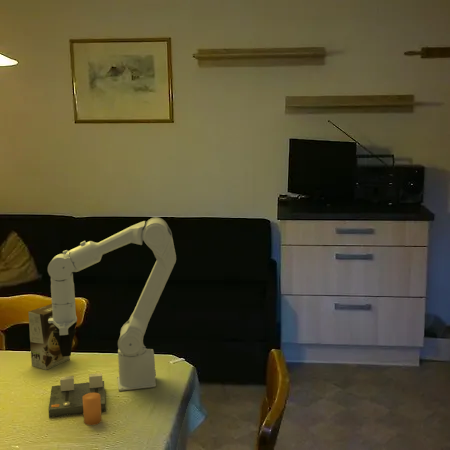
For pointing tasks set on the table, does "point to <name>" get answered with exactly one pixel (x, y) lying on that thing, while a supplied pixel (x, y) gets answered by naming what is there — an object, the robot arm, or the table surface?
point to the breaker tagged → (67, 383)
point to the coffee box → (44, 339)
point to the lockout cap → (92, 408)
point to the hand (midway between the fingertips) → (66, 352)
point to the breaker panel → (72, 399)
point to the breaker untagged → (95, 380)
